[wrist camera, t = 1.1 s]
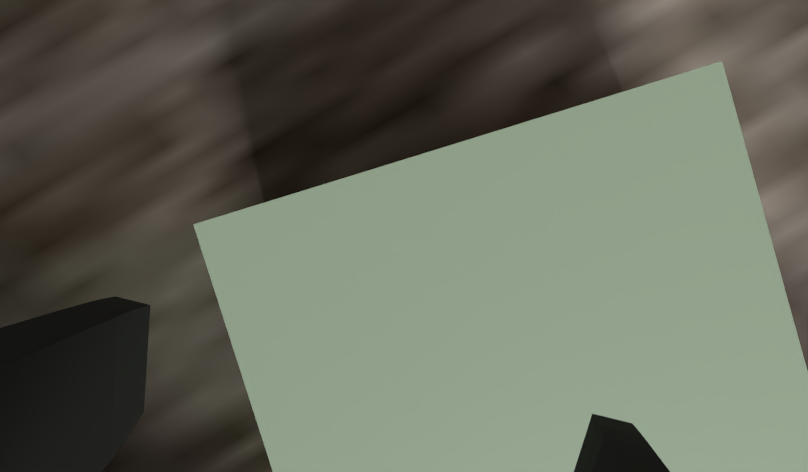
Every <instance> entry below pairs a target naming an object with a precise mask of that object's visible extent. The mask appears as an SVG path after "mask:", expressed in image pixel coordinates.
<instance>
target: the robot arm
mask: <svg viewBox="0 0 808 472" xmlns="http://www.w3.org/2000/svg"><path fill="white" fill-rule="evenodd" d="M149 316H150V305H147V304H143V303H139V302H135V301H131V300H127V299H123V298H119V297H111V298H105V299H100V300H96V301H92V302H88V303H84V304H81V305H77V306H74V307H70V308H67V309H63V310H60V311H56V312H53V313H50V314H46V315H43V316H40V317H36V318H33V319H29V320H26V321H23V322H19V323H16V324H12V325H9V326H6V327H2V328H0V472H102V471H103V470H104V468H105V467H106V466H107V465H108V464H109V463H110V461H111V460H112V459H113V457H114V456H115V454H116V453H117V451H118V450H119V448H120V447H121V445H122V444H123V443H124V441H125V440H126V438H127V437H128V435H129V434H130V432H131V430H132V429H133V427H134V426H135V424H136V423H137V421H138V419H139V418H140V416H141V415H142V413H143V412H144V398H145V381H146V365H147V348H148V332H149ZM574 472H670V471H669V470H668V468H667V467H666V466H665V464H664V463H663V462H662V460H661V459H660V458H659V456H658V455H657V454H656V452H655V451H654V450H653V449H652V447H651V446H650V445H649V443H648V442H647V441H646V439H645V438H644V437H643V436H642V434H641V433H640V432H639V431H638V429H637V428H636V427H635V426H634V425H633V424H632V423H629V422H625V421H621V420H616V419H612V418H608V417H604V416H600V415H596V414H592V416H591V419H590V422H589V426H588V429H587V432H586V435H585V438H584V441H583V444H582V448H581V451H580V454H579V457H578V460H577V463H576V466H575V470H574Z"/></svg>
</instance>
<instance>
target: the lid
mask: <svg viewBox="0 0 808 472" xmlns="http://www.w3.org/2000/svg"><path fill="white" fill-rule="evenodd" d="M193 225H194V228H195V231H196V234H197V238H198V241H199V244H200V247H201V250H202V253H203V256H204V259H205V262H206V266H207V269H208V272H209V275H210V278H211V281H212V284H213V287H214V290H215V294H216V297H217V300H218V303H219V306H220V309H221V312H222V315H223V318H224V321H225V325H226V328H227V331H228V334H229V337H230V340H231V343H232V346H233V349H234V353H235V356H236V359H237V362H238V365H239V368H240V371H241V374H242V377H243V381H244V384H245V387H246V390H247V393H248V396H249V399H250V402H251V405H252V409H253V412H254V415H255V418H256V421H257V424H258V427H259V430H260V433H261V436H262V440H263V443H264V446H265V449H266V452H267V455H268V458H269V461H270V464H271V468H272V471H273V472H574V470H575V466H576V463H577V460H578V457H579V454H580V451H581V448H582V444H583V441H584V438H585V435H586V432H587V429H588V426H589V422H590V419H591V416H592V414H596V415H600V416H604V417H608V418H612V419H616V420H621V421H625V422H629V423H632V424H633V425H634V426H635V427H636V428H637V429H638V431H639V432H640V433H641V434H642V436H643V437H644V438H645V439H646V441H647V442H648V443H649V445H650V446H651V447H652V449H653V450H654V451H655V452H656V454H657V455H658V456H659V458H660V459H661V460H662V462H663V463H664V464H665V466H666V467H667V468H668V470H669V471H670V472H808V371H807V368H806V364H805V360H804V357H803V353H802V350H801V346H800V342H799V339H798V335H797V331H796V328H795V324H794V321H793V317H792V313H791V310H790V306H789V302H788V299H787V295H786V291H785V288H784V284H783V281H782V277H781V273H780V270H779V266H778V262H777V259H776V255H775V251H774V248H773V244H772V241H771V237H770V233H769V230H768V226H767V222H766V219H765V215H764V212H763V208H762V204H761V201H760V197H759V193H758V190H757V186H756V182H755V179H754V175H753V172H752V168H751V164H750V161H749V157H748V153H747V150H746V146H745V143H744V139H743V135H742V132H741V128H740V124H739V121H738V117H737V113H736V110H735V106H734V103H733V99H732V95H731V92H730V88H729V84H728V81H727V77H726V74H725V70H724V66H723V63H722V61H721V62H718V63H714V64H711V65H708V66H705V67H701V68H698V69H695V70H692V71H689V72H685V73H682V74H679V75H676V76H672V77H669V78H666V79H663V80H659V81H656V82H653V83H650V84H646V85H643V86H640V87H637V88H634V89H630V90H627V91H624V92H621V93H617V94H614V95H611V96H608V97H604V98H601V99H598V100H595V101H591V102H588V103H585V104H582V105H579V106H575V107H572V108H569V109H566V110H562V111H559V112H556V113H553V114H549V115H546V116H543V117H540V118H536V119H533V120H530V121H527V122H524V123H520V124H517V125H514V126H511V127H507V128H504V129H501V130H498V131H494V132H491V133H488V134H485V135H481V136H478V137H475V138H472V139H468V140H465V141H462V142H459V143H456V144H452V145H449V146H446V147H443V148H439V149H436V150H433V151H430V152H426V153H423V154H420V155H417V156H413V157H410V158H407V159H404V160H401V161H397V162H394V163H391V164H388V165H384V166H381V167H378V168H375V169H371V170H368V171H365V172H362V173H358V174H355V175H352V176H349V177H346V178H342V179H339V180H336V181H333V182H329V183H326V184H323V185H320V186H316V187H313V188H310V189H307V190H303V191H300V192H297V193H294V194H291V195H287V196H284V197H281V198H278V199H274V200H271V201H268V202H265V203H261V204H258V205H255V206H252V207H248V208H245V209H242V210H239V211H236V212H232V213H229V214H226V215H223V216H219V217H216V218H213V219H210V220H206V221H203V222H200V223H197V224H193Z"/></svg>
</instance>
